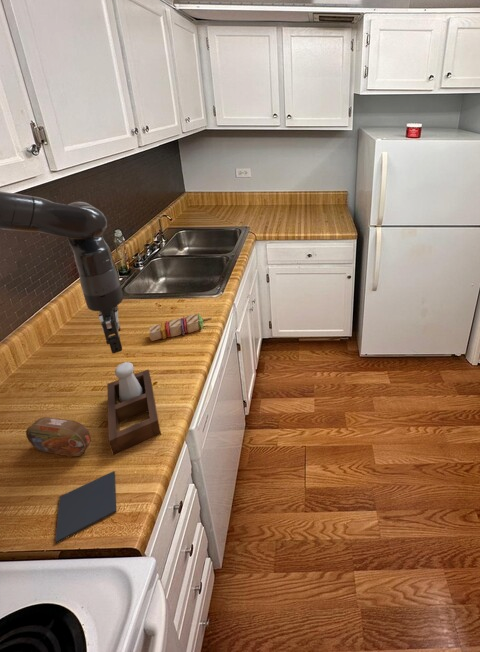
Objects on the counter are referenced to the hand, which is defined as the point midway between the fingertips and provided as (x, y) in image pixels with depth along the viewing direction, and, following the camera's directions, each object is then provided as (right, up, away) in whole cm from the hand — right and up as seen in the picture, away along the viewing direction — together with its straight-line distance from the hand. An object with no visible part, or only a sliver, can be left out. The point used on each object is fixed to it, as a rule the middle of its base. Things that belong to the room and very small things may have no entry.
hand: (116, 341), depth 84 cm
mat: (+3, -29, -15) cm, 33 cm away
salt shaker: (0, -20, +8) cm, 21 cm away
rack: (+2, -21, +4) cm, 22 cm away
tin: (-10, -25, -4) cm, 27 cm away
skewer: (+2, -9, +36) cm, 37 cm away
